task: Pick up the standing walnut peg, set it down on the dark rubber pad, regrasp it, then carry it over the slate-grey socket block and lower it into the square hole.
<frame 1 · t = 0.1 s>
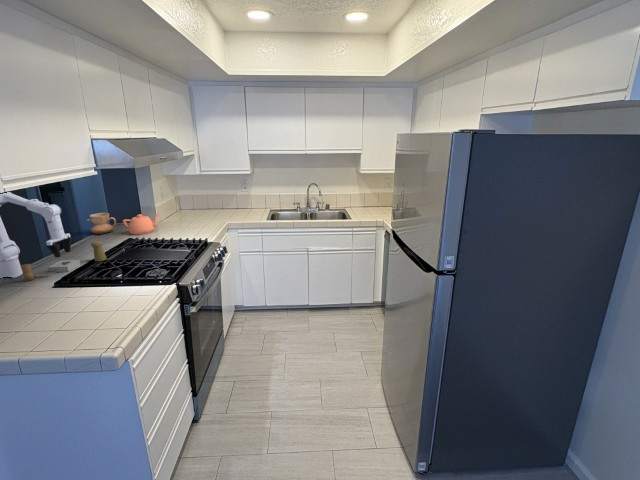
hand: (63, 254, 171), 10 cm above the counter, fingers open, 7 cm apart
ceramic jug: (104, 232, 251), on the counter
socket: (65, 268, 180), on the counter
pad: (46, 274, 173), on the counter
peg: (30, 280, 166), on the counter
teapot: (144, 232, 248), on the counter
cork: (100, 259, 192), on the counter
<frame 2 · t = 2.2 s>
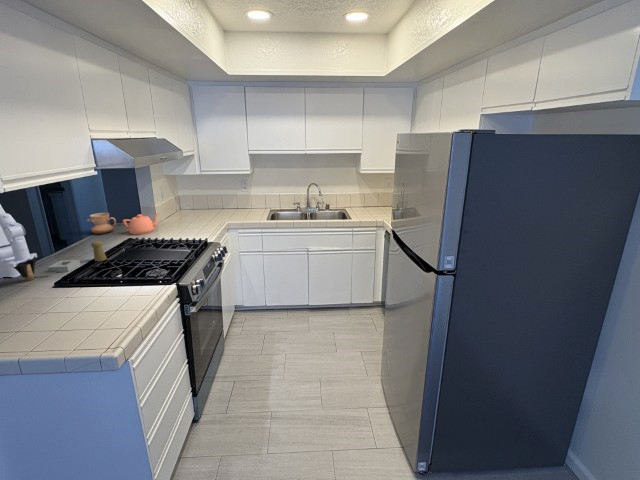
hand: (28, 275, 166), 2 cm above the counter, fingers closed on peg, 4 cm apart
peg: (30, 280, 166), on the counter, touching gripper
everything else where it was.
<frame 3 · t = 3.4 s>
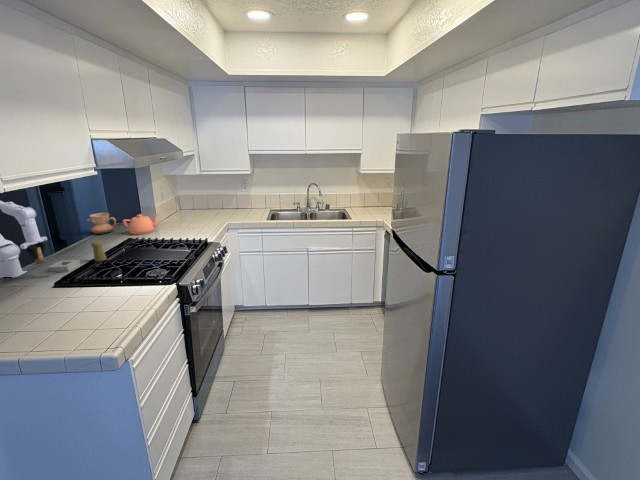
hand: (38, 257, 169), 9 cm above the counter, fingers closed on peg, 4 cm apart
peg: (40, 262, 170), point 7 cm above the counter, touching gripper
everything else where it was.
when the fingers open (4 cm above the counter, at t = 4.9 s): peg stays where it is, resting on pad.
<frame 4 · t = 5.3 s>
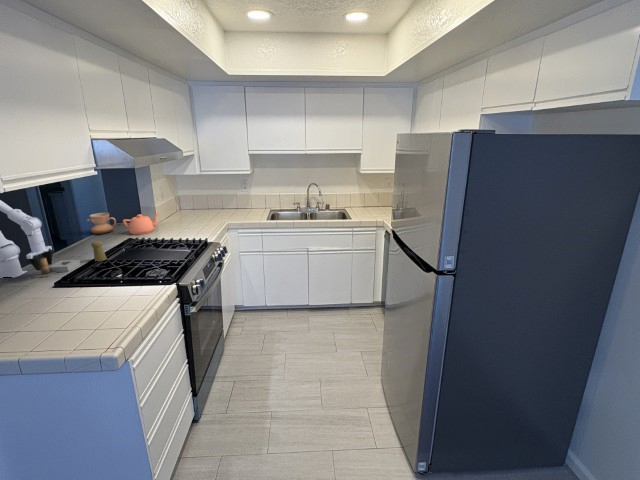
hand: (44, 267, 172), 4 cm above the counter, fingers open, 7 cm apart
peg: (46, 273, 173), resting on pad
everything else where it was.
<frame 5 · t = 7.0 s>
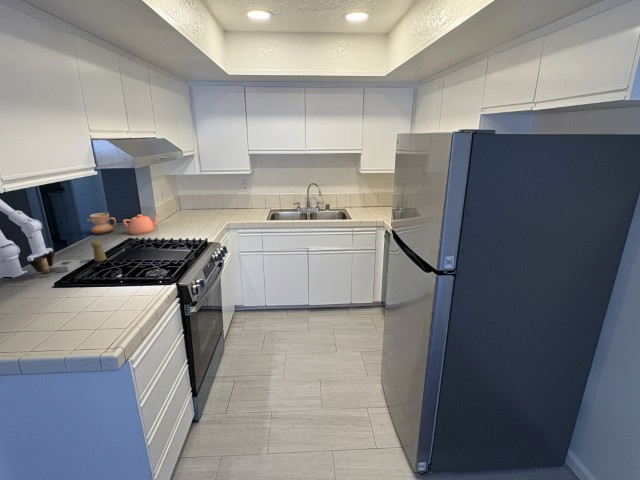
hand: (44, 269, 172), 3 cm above the counter, fingers open, 7 cm apart
nothing on the counter moved.
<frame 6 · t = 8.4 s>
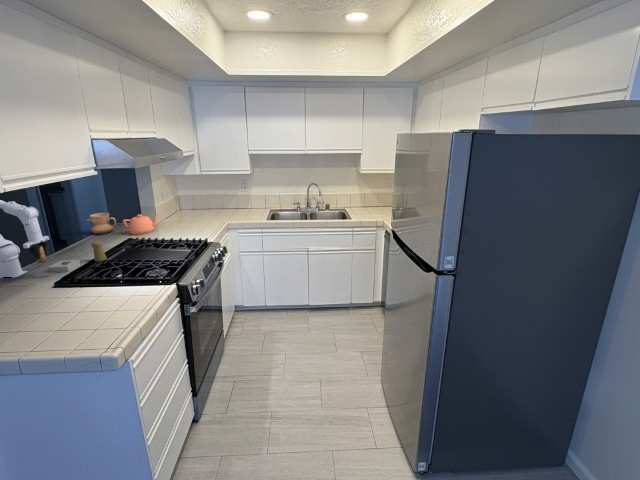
hand: (41, 257, 170), 9 cm above the counter, fingers closed on peg, 3 cm apart
peg: (42, 261, 171), point 7 cm above the counter, touching gripper
everything else where it was.
when the fingers open (4 cm above the counter, at t = 10.8 s): peg drops 1 cm, resting in socket.
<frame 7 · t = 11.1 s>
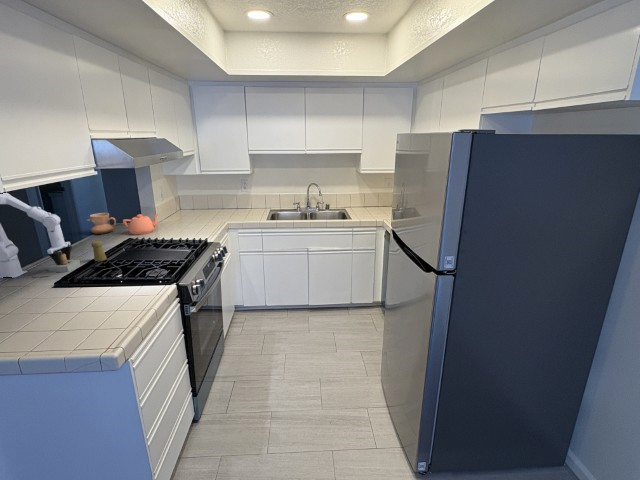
hand: (63, 262, 179), 4 cm above the counter, fingers open, 6 cm apart
peg: (65, 268, 180), resting in socket
everything else where it was.
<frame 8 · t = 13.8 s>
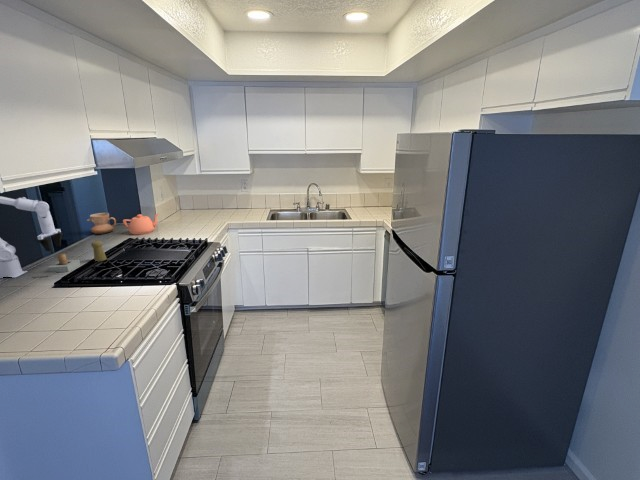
hand: (53, 248, 181), 10 cm above the counter, fingers open, 7 cm apart
nothing on the counter moved.
at the end: peg 0.1 cm off-centre on the socket, point 0.0 cm above the socket's base; peg tilted 0°; the gripper is holding nothing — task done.
